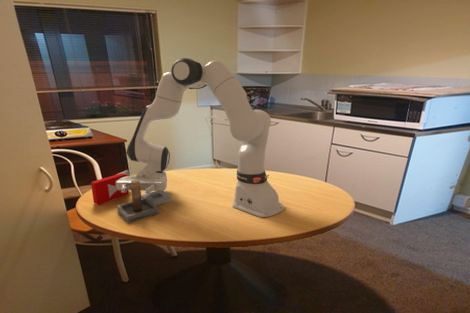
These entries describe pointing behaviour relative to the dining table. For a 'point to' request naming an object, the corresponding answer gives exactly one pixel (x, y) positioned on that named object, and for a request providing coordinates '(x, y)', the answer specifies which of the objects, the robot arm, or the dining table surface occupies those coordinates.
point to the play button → (107, 189)
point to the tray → (131, 216)
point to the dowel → (136, 196)
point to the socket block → (157, 197)
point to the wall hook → (126, 172)
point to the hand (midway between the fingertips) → (135, 191)
